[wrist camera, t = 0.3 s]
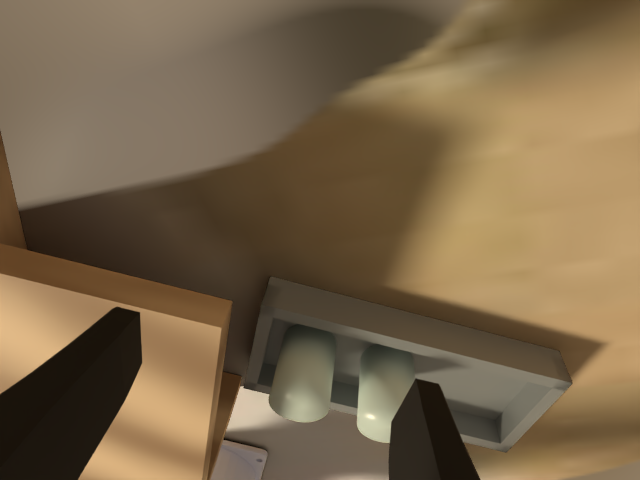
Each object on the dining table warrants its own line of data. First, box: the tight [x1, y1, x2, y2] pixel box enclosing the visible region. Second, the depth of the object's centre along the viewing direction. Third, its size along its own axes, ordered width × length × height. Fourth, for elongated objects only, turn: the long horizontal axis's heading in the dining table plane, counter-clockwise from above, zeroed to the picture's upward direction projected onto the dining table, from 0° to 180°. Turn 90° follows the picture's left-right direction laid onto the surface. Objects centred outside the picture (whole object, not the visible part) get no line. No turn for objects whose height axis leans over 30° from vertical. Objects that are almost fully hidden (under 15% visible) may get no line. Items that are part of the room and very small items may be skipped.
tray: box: [244, 276, 572, 452], centre depth 24 cm, size 7×16×5 cm, turn 77°
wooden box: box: [0, 132, 242, 480], centre depth 21 cm, size 15×14×8 cm
